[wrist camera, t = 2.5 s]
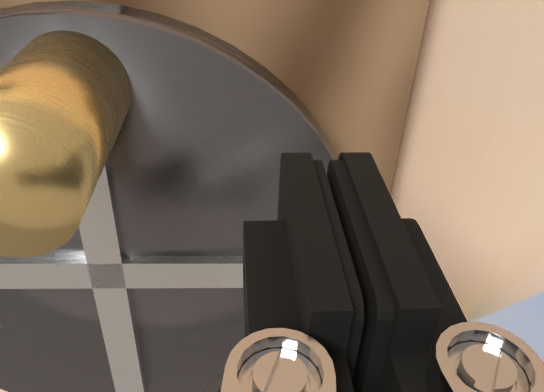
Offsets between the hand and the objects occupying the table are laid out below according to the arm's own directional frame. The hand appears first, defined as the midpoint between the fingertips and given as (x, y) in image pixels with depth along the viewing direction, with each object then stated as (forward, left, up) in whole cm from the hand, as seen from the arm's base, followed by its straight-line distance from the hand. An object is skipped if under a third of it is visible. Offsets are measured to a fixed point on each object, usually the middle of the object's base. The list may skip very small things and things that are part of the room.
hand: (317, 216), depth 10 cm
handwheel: (+6, +7, -9) cm, 13 cm away
